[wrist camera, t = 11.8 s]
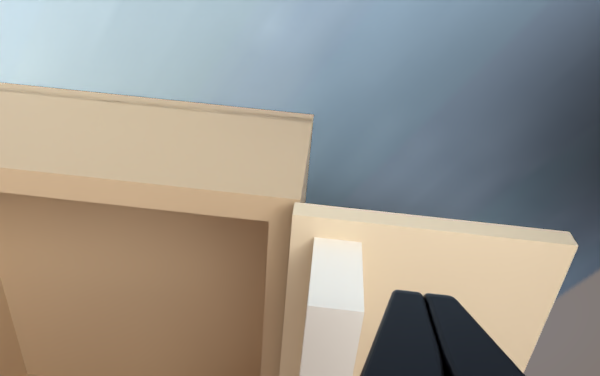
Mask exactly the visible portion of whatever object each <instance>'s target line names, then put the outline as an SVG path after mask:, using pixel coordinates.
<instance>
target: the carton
mask: <svg viewBox="0 0 600 376" xmlns="http://www.w3.org/2000/svg"><path fill="white" fill-rule="evenodd" d="M313 117H314V115H312V114H302V113H292V112H282V111H273V110H263V109H253V108H243V107H234V106H224V105H214V104H204V103H195V102H185V101H175V100H165V99H156V98H146V97H136V96H126V95H117V94H107V93H97V92H87V91H78V90H68V89H58V88H48V87H39V86H29V85H19V84H9V83H0V376H279V373H280V361H281V348H282V336H283V324H284V312H285V300H286V288H287V275H288V263H289V251H290V239H291V227H292V215H293V209H294V203H295V202H299V203H305V200H306V190H307V180H308V169H309V159H310V148H311V138H312V127H313Z"/></svg>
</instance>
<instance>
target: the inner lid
mask: <svg viewBox="0 0 600 376" xmlns="http://www.w3.org/2000/svg"><path fill="white" fill-rule="evenodd" d="M577 248H578V244H577V243H576V241H575V240H574V238H573V236H572V235H571V233H570V232H567V231H558V230H549V229H539V228H530V227H521V226H512V225H502V224H493V223H484V222H475V221H466V220H456V219H447V218H438V217H429V216H419V215H410V214H401V213H392V212H382V211H373V210H364V209H355V208H345V207H336V206H327V205H318V204H308V203H299V202H295V203H294V209H293V215H292V227H291V239H290V251H289V263H288V275H287V288H286V300H285V312H284V324H283V336H282V348H281V361H280V373H279V376H360V374H361V372H362V369H363V366H364V364H365V361H366V359H367V356H368V353H369V351H370V348H371V346H372V343H373V340H374V338H375V335H376V333H377V330H378V327H379V325H380V322H381V320H382V317H383V314H384V312H385V309H386V307H387V304H388V301H389V299H390V296H391V294H392V292H393V291H394V290H406V291H415V292H419V293H421V294H422V295H424V294H426V293H433V294H441V295H449V296H452V297H454V298H455V299H457V300H458V302H459V303H460V304H461V305H462V306H463V307H464V308H465V309H466V310H467V312H468V313H469V314H470V315H471V316H472V317H473V318H474V319H475V320H476V322H477V323H478V324H479V325H480V326H481V327H482V328H483V329H484V330H485V331H486V333H487V334H488V335H489V336H490V337H491V338H492V339H493V340H494V341H495V343H496V344H497V345H498V346H499V347H500V348H501V349H502V350H503V351H504V353H505V354H506V355H507V356H508V357H509V358H510V359H511V360H512V361H513V362H514V364H515V365H516V366H517V367H518V368H519V369H520V370H521V371H522V372H523V373H524V371H525V369H526V366H527V364H528V362H529V359H530V357H531V355H532V352H533V350H534V348H535V346H536V343H537V341H538V339H539V336H540V334H541V331H542V329H543V327H544V325H545V322H546V320H547V318H548V315H549V313H550V310H551V308H552V306H553V304H554V302H555V299H556V297H557V295H558V292H559V290H560V288H561V285H562V283H563V281H564V278H565V276H566V274H567V272H568V269H569V267H570V265H571V262H572V260H573V258H574V255H575V253H576V251H577Z"/></svg>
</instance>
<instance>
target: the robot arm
mask: <svg viewBox="0 0 600 376" xmlns="http://www.w3.org/2000/svg"><path fill="white" fill-rule="evenodd" d="M360 376H525V375H524V374H523V372H522V371H521V370H520V369H519V368H518V367H517V366H516V365H515V364H514V362H513V361H512V360H511V359H510V358H509V357H508V356H507V355H506V354H505V353H504V351H503V350H502V349H501V348H500V347H499V346H498V345H497V344H496V343H495V341H494V340H493V339H492V338H491V337H490V336H489V335H488V334H487V333H486V331H485V330H484V329H483V328H482V327H481V326H480V325H479V324H478V323H477V322H476V320H475V319H474V318H473V317H472V316H471V315H470V314H469V313H468V312H467V310H466V309H465V308H464V307H463V306H462V305H461V304H460V303H459V302H458V300H457V299H455V298H454V297H452V296H449V295H441V294H433V293H426V294H424V295H422V294H421V293H419V292H415V291H406V290H394V291H393V292H392V294H391V296H390V299H389V301H388V304H387V307H386V309H385V312H384V314H383V317H382V320H381V322H380V325H379V327H378V330H377V333H376V335H375V338H374V340H373V343H372V346H371V348H370V351H369V353H368V356H367V359H366V361H365V364H364V366H363V369H362V372H361V374H360Z"/></svg>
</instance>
